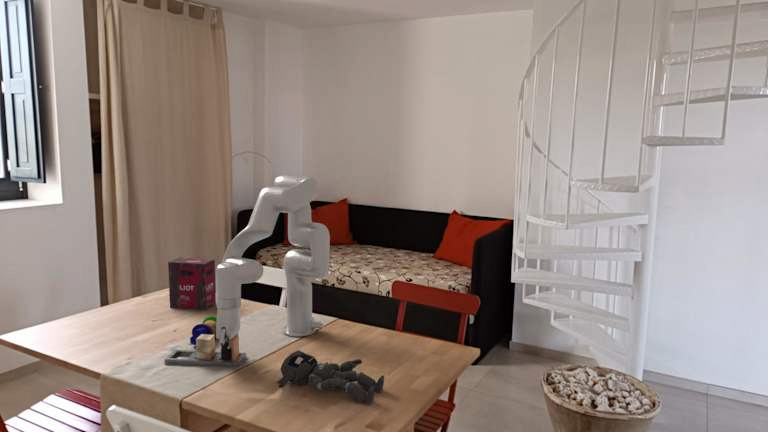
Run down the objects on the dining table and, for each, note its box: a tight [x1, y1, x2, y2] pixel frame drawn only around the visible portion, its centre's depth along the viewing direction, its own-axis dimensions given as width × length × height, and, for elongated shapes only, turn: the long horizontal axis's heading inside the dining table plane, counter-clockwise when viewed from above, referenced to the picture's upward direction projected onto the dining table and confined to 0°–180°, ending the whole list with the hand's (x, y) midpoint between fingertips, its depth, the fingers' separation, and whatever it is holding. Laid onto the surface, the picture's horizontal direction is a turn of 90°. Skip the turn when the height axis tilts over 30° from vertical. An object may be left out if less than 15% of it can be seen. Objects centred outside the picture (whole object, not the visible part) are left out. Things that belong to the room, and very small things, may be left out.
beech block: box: [195, 334, 216, 360], centre depth 178 cm, size 4×4×8 cm
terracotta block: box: [221, 335, 240, 361], centre depth 178 cm, size 4×4×8 cm
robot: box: [276, 350, 385, 406], centre depth 163 cm, size 17×10×30 cm
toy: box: [188, 316, 218, 346], centre depth 196 cm, size 12×9×15 cm
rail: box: [164, 349, 247, 368], centre depth 179 cm, size 24×8×3 cm, turn 86°
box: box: [167, 257, 217, 311], centre depth 236 cm, size 16×9×20 cm, turn 81°
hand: (230, 355), depth 178 cm, fingers open, 5 cm apart
